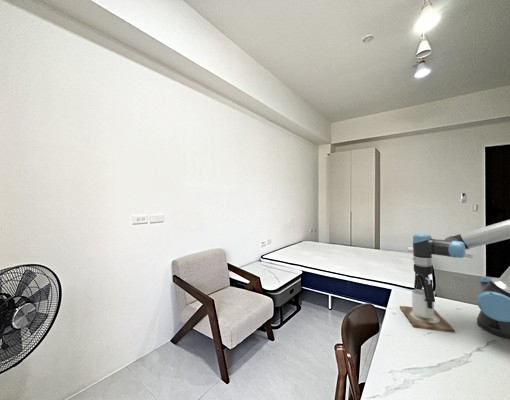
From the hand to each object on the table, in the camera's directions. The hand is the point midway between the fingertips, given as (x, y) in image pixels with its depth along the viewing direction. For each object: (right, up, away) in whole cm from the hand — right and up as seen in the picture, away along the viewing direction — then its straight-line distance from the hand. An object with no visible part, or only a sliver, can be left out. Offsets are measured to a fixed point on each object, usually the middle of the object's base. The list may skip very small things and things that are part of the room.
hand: (424, 309), depth 111 cm
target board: (0, -5, 0) cm, 5 cm away
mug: (0, -2, +1) cm, 3 cm away
